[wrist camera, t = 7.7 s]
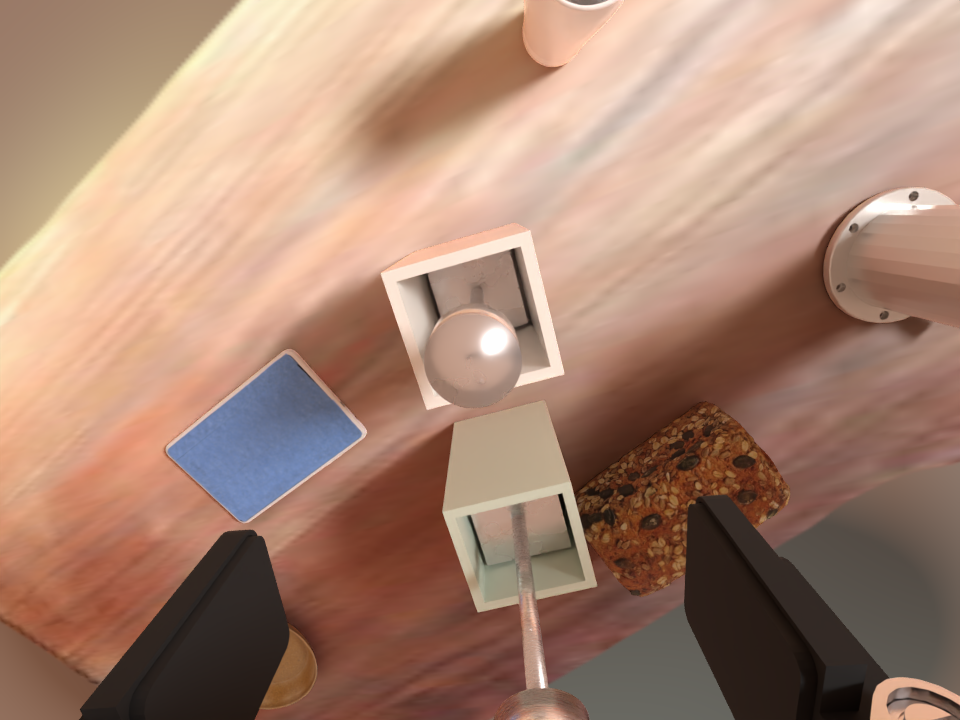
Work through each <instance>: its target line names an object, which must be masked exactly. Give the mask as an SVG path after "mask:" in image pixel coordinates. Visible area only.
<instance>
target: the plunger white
mask: <svg viewBox="0 0 960 720" xmlns="http://www.w3.org/2000/svg"><path fill="white" fill-rule="evenodd" d="M427 274H428V277H429V281H430V284H431V287H432V290H433V294H434V297H435V300H436V303H437V306H438V310H439V313H440V316H441V318H440V319H439V320H438V322H437V323H436V325H435V327H434V329H433V331H432V334H431V336H430V339H429V341H428V344H427V346H426V349H425V354H424V368H425V373H426V376H427V379H428V381H429V383H430V385H431V386H432V388H433V389H434V390H435V391H436V392H437V393H438V394H439V395H440V396H441V397H442V398H443V399H445V400H446V401H448V402H450V403H452V404H454V405H457V406H460V407H465V408H481V407H486V406H489V405H492V404H494V403H497V402H498V401H500V400H502V399H503V398H504V397H506V396H507V395H508V394H509V393H510V392H511V391H512V389H513V388H514V387H515V385H516V383H517V381H518V379H519V376H520V373H521V369H522V355H521V350H520V346H519V342H518V339H517V335H516V332H515V329H514V327H516V326H520V325H523V324H527V323H528V320H527V316H526V312H525V308H524V304H523V300H522V297H521V293H520V289H519V285H518V281H517V277H516V273H515V269H514V265H513V261H512V257H511V254H510V250H506V251H503V252H499V253H496V254H492V255H488V256H485V257H481V258H478V259H474V260H471V261H467V262H464V263H460V264H457V265H453V266H450V267H446V268H443V269H439V270H436V271H432V272H429V273H427Z"/></svg>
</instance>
